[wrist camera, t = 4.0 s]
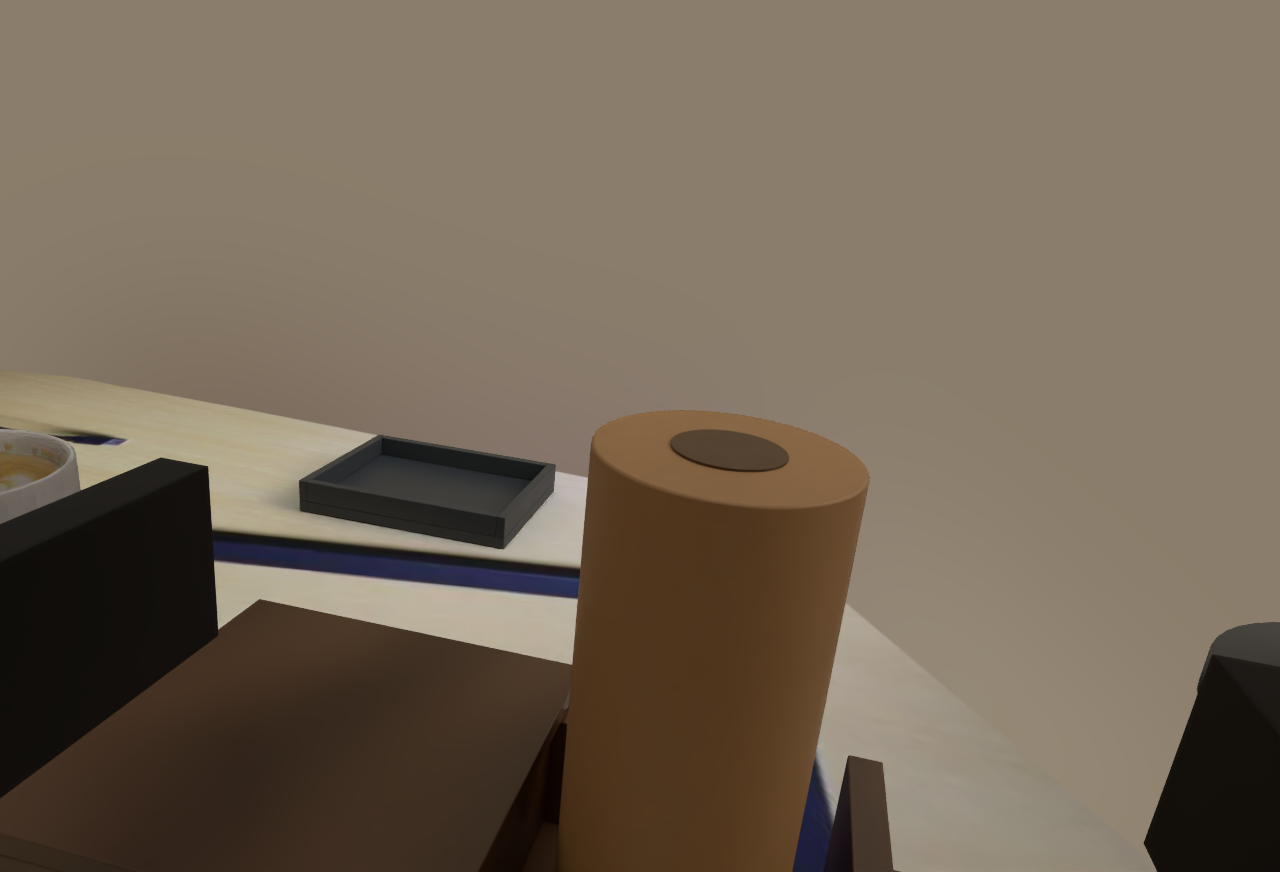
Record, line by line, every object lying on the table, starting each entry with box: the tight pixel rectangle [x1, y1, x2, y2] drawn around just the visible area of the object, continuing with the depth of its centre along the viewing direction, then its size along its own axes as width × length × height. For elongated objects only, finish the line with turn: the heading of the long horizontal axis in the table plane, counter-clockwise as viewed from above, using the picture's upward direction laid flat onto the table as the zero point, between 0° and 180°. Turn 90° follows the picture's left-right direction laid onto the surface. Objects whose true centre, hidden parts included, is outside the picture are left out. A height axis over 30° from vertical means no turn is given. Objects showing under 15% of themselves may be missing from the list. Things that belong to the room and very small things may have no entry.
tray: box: [299, 435, 556, 549], centre depth 62 cm, size 15×11×2 cm
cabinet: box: [0, 599, 572, 872], centre depth 28 cm, size 14×12×8 cm
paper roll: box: [555, 410, 869, 872], centre depth 24 cm, size 7×7×17 cm
